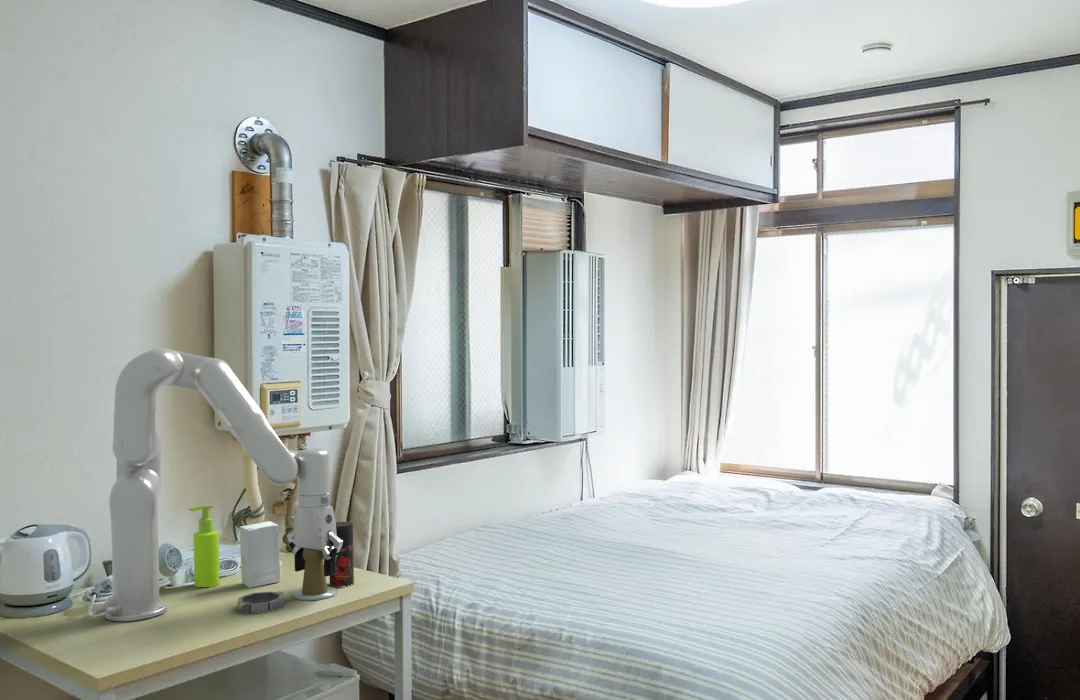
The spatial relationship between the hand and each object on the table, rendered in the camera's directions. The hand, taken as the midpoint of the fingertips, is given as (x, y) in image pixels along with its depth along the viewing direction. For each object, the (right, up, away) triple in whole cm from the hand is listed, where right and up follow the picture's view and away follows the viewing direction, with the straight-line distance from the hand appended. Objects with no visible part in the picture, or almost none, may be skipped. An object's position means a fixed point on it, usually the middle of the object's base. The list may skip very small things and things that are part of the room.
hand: (315, 572), depth 210 cm
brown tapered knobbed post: (0, -5, 0) cm, 5 cm away
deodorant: (+4, -5, +9) cm, 11 cm away
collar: (-10, -5, -9) cm, 15 cm away
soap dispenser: (-30, -6, +10) cm, 32 cm away
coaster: (0, -5, 0) cm, 5 cm away
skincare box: (-17, -6, +11) cm, 21 cm away
